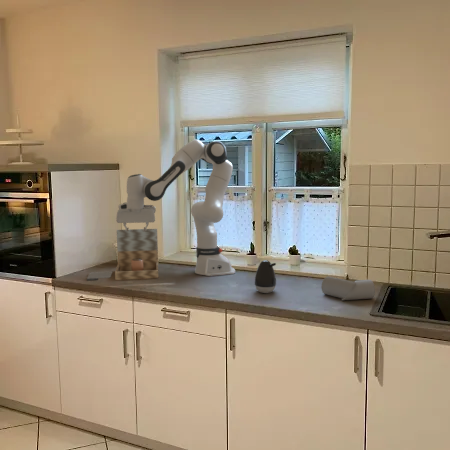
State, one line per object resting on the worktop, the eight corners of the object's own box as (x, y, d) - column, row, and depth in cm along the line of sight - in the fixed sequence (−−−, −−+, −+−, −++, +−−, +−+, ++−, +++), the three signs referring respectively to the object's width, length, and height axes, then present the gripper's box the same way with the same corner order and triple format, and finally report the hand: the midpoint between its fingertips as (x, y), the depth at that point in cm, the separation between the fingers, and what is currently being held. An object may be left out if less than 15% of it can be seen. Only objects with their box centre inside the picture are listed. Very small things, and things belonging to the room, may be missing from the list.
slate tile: (112, 273, 261) (112, 271, 261) (110, 279, 248) (110, 277, 248) (90, 274, 260) (90, 272, 260) (86, 280, 246) (86, 278, 246)
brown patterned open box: (158, 270, 266) (157, 228, 262) (158, 279, 246) (157, 234, 243) (118, 272, 263) (116, 229, 259) (115, 281, 243) (113, 235, 240)
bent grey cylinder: (334, 302, 202) (377, 299, 206) (332, 277, 203) (375, 275, 207) (318, 299, 220) (358, 296, 223) (317, 276, 220) (356, 274, 224)
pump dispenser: (270, 296, 216) (270, 263, 214) (250, 292, 221) (250, 261, 219) (280, 290, 224) (280, 259, 222) (260, 287, 230) (260, 257, 228)
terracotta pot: (143, 272, 258) (143, 258, 257) (143, 275, 252) (143, 260, 251) (131, 273, 257) (131, 258, 256) (131, 275, 251) (130, 260, 250)
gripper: (155, 204, 254) (156, 229, 256) (116, 204, 251) (117, 230, 253) (155, 205, 248) (155, 231, 249) (115, 205, 245) (116, 232, 247)
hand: (136, 231), depth 251 cm, fingers open, 8 cm apart
